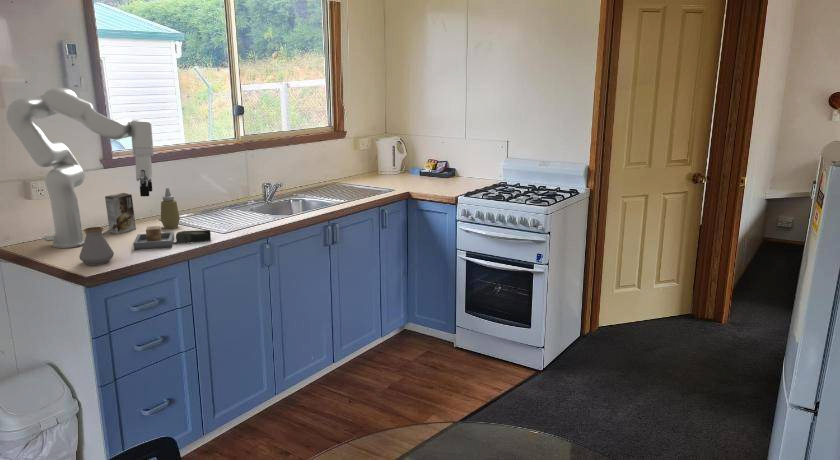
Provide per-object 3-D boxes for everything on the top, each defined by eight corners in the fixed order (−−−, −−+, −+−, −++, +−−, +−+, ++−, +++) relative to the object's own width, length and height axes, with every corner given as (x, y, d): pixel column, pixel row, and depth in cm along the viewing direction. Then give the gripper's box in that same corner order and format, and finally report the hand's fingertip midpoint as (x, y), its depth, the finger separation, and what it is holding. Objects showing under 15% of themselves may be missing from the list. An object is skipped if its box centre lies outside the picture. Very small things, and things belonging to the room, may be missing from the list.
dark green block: (210, 228, 261) (171, 231, 255) (210, 230, 258) (172, 233, 252) (210, 240, 262) (172, 242, 256) (211, 242, 260) (173, 244, 254)
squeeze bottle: (160, 226, 283) (156, 187, 278) (179, 224, 286) (175, 186, 282) (162, 230, 276) (158, 190, 271) (181, 228, 279) (178, 189, 275)
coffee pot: (90, 269, 223) (85, 228, 219) (74, 263, 229) (68, 224, 225) (145, 255, 240) (141, 217, 236) (128, 249, 246) (124, 213, 242)
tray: (134, 250, 245) (133, 243, 245) (138, 241, 258) (137, 234, 258) (171, 247, 249) (171, 240, 249) (174, 238, 262) (173, 231, 262)
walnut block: (147, 244, 251) (145, 229, 249) (148, 240, 255) (147, 226, 254) (160, 243, 252) (159, 228, 251) (161, 239, 257) (160, 225, 255)
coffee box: (127, 227, 280) (123, 192, 276) (136, 229, 277) (132, 194, 272) (108, 231, 272) (104, 196, 268) (117, 234, 269) (113, 197, 265)
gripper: (136, 148, 252) (139, 189, 256) (129, 154, 236) (133, 198, 240) (155, 148, 254) (159, 189, 258) (150, 154, 238) (154, 197, 242)
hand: (146, 193), depth 249 cm, fingers open, 9 cm apart
